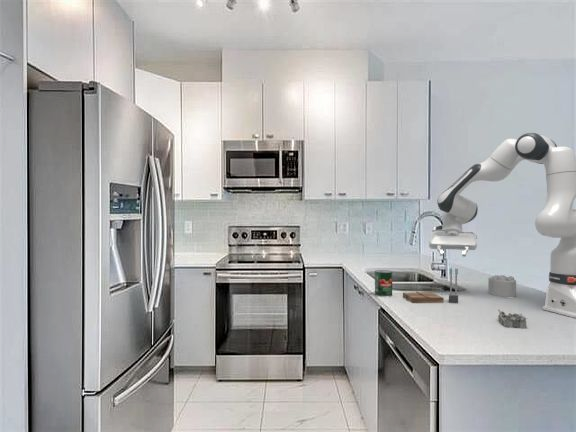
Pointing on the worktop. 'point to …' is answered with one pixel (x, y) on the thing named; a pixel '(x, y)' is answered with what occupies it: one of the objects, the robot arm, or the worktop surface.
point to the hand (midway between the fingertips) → (452, 255)
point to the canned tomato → (383, 283)
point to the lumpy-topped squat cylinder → (502, 286)
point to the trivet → (423, 297)
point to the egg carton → (512, 320)
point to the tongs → (455, 297)
